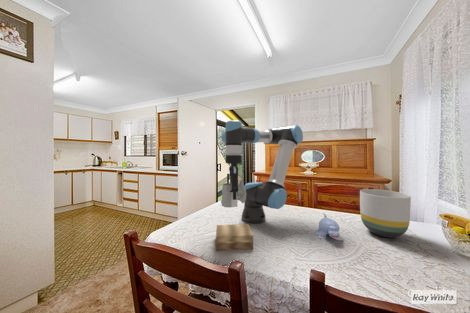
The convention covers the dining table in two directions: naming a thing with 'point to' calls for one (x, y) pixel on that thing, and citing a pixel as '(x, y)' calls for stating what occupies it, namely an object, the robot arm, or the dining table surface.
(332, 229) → the light blue rounded figure
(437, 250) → the dining table surface
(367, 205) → the planter
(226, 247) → the wooden block
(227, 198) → the mug
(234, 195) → the robot arm
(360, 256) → the dining table surface
